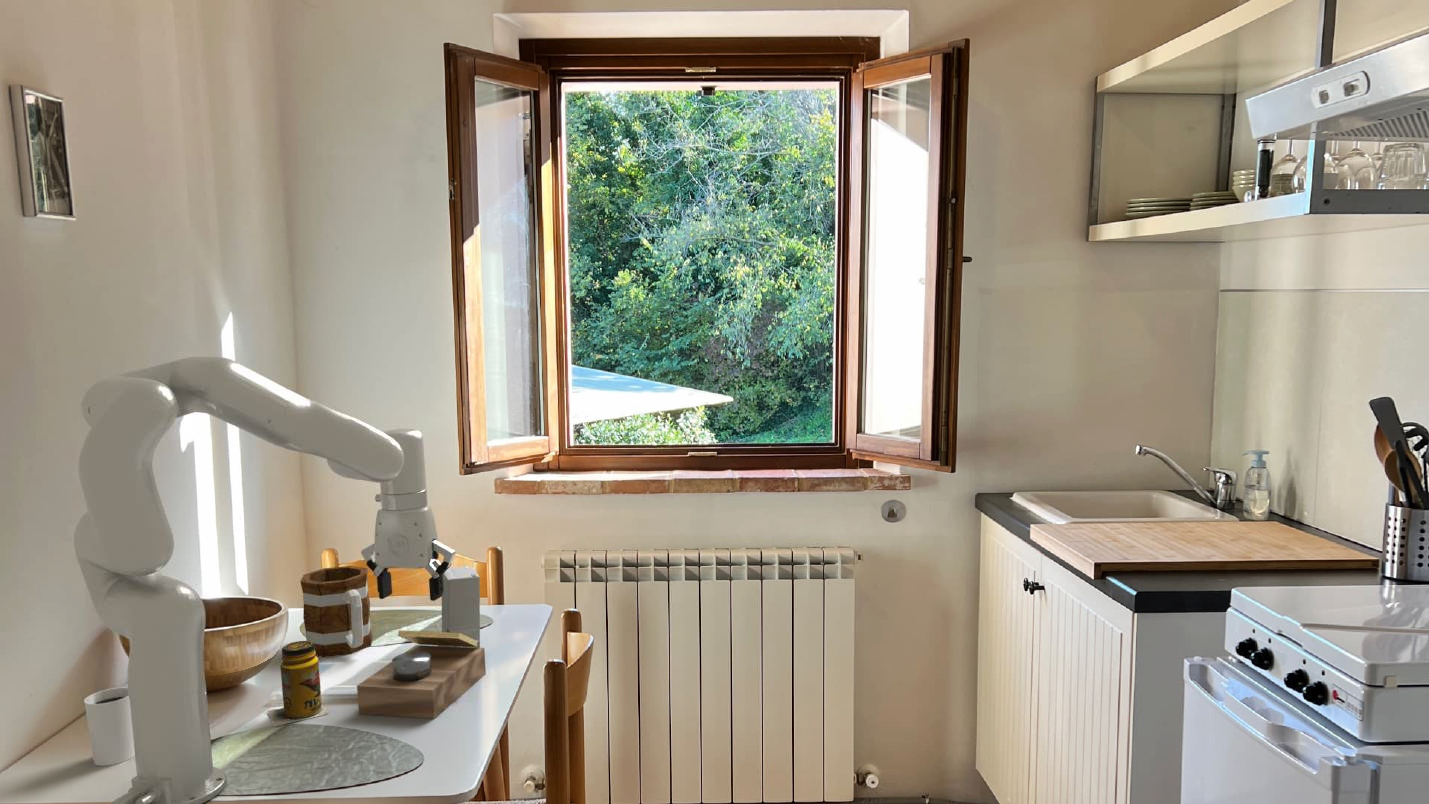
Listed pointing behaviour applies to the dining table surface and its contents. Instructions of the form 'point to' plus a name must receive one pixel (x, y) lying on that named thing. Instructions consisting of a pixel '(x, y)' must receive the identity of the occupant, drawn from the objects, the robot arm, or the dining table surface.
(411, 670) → the steel pin
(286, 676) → the condiment
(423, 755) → the dining table surface
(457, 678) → the block
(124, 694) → the white cup
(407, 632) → the brass keeper
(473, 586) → the skincare box
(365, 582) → the mug
